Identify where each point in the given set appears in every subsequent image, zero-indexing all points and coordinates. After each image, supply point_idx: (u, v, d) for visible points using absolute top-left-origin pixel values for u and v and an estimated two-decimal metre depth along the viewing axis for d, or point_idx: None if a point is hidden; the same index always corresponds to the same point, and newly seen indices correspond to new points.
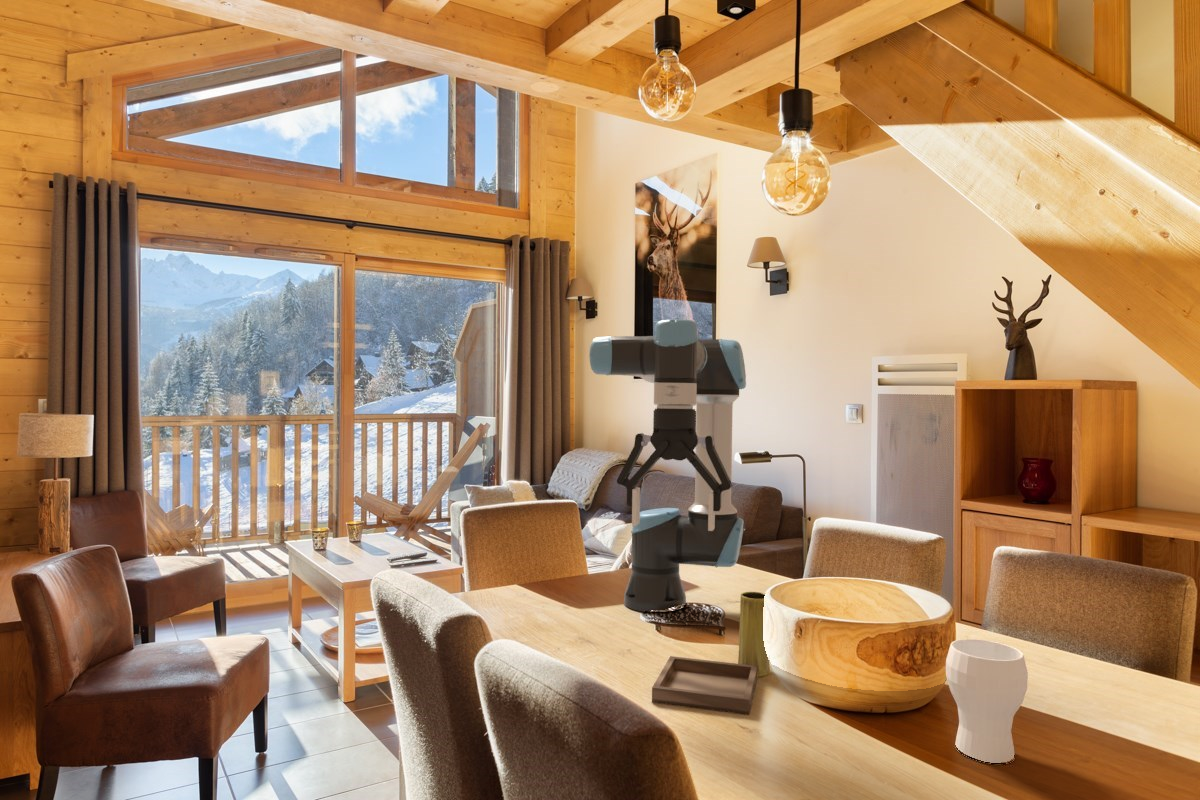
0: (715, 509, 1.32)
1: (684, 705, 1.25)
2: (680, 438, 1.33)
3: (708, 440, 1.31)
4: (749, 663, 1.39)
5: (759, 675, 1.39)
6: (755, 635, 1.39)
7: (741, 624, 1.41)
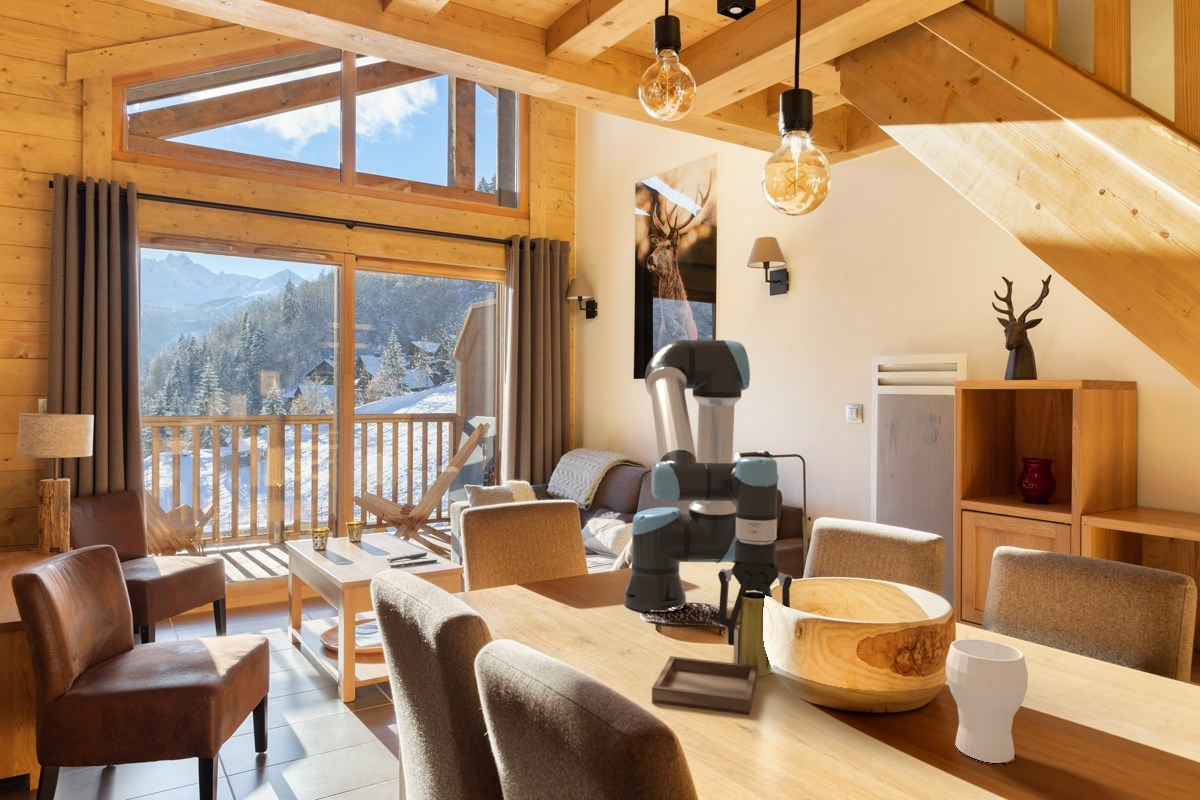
0: None
1: (684, 705, 1.25)
2: (763, 567, 1.40)
3: (788, 581, 1.39)
4: (749, 663, 1.39)
5: (759, 675, 1.39)
6: (755, 635, 1.39)
7: (741, 624, 1.41)
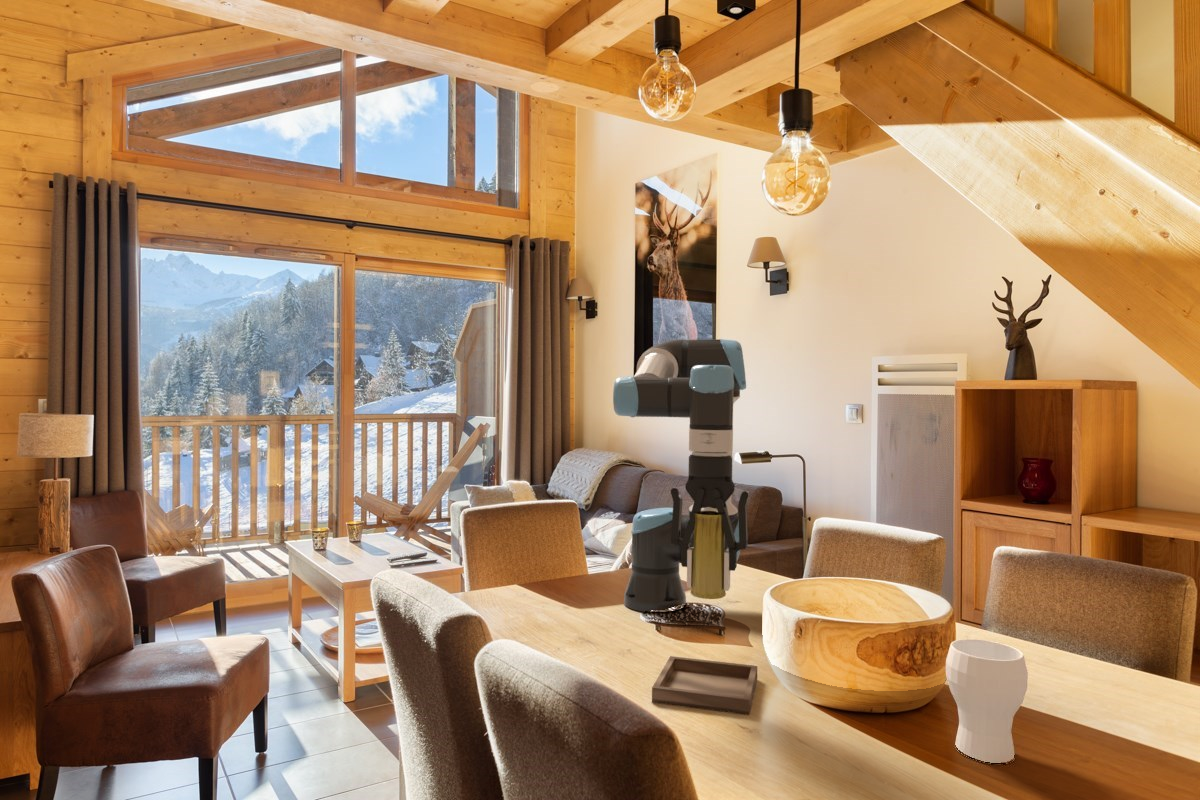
0: (731, 568, 1.30)
1: (684, 705, 1.25)
2: (718, 482, 1.30)
3: (744, 496, 1.29)
4: (702, 584, 1.29)
5: (713, 597, 1.29)
6: (709, 554, 1.29)
7: (694, 543, 1.31)
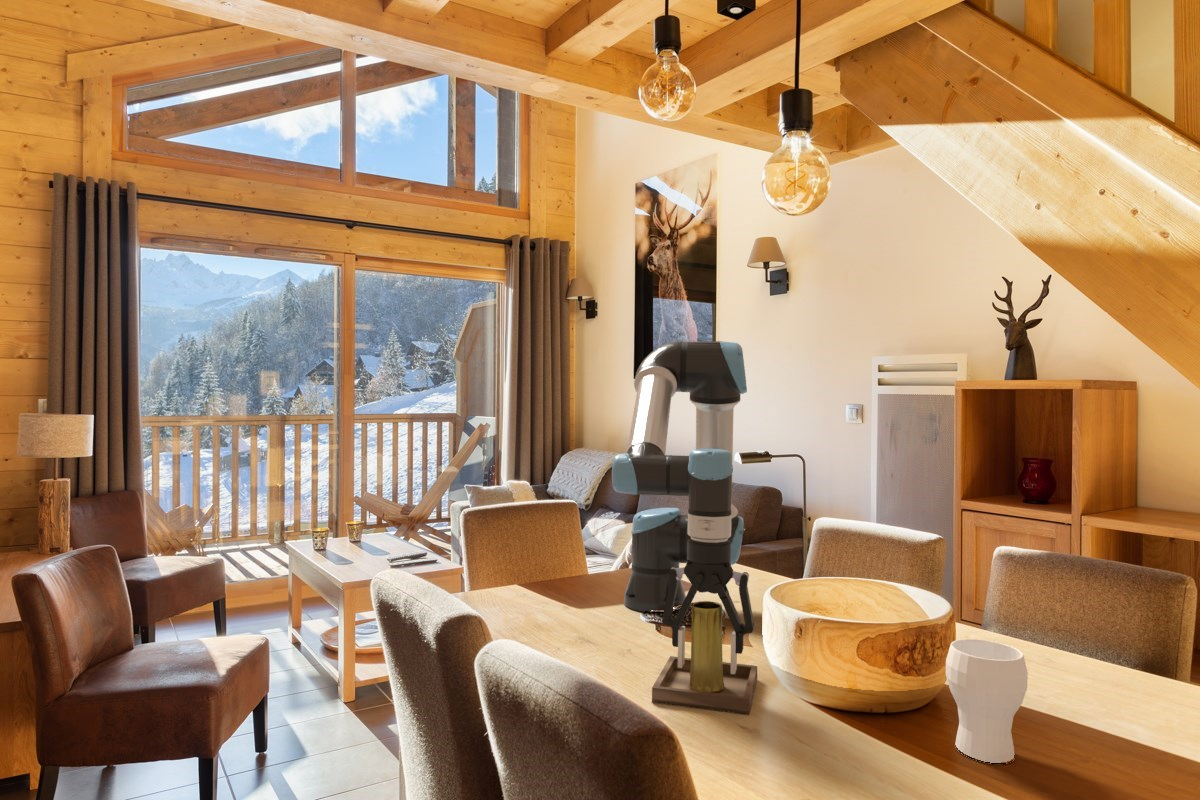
0: (737, 651, 1.30)
1: (684, 705, 1.25)
2: (716, 568, 1.30)
3: (743, 579, 1.29)
4: (701, 678, 1.30)
5: (712, 691, 1.29)
6: (707, 648, 1.29)
7: (692, 636, 1.31)
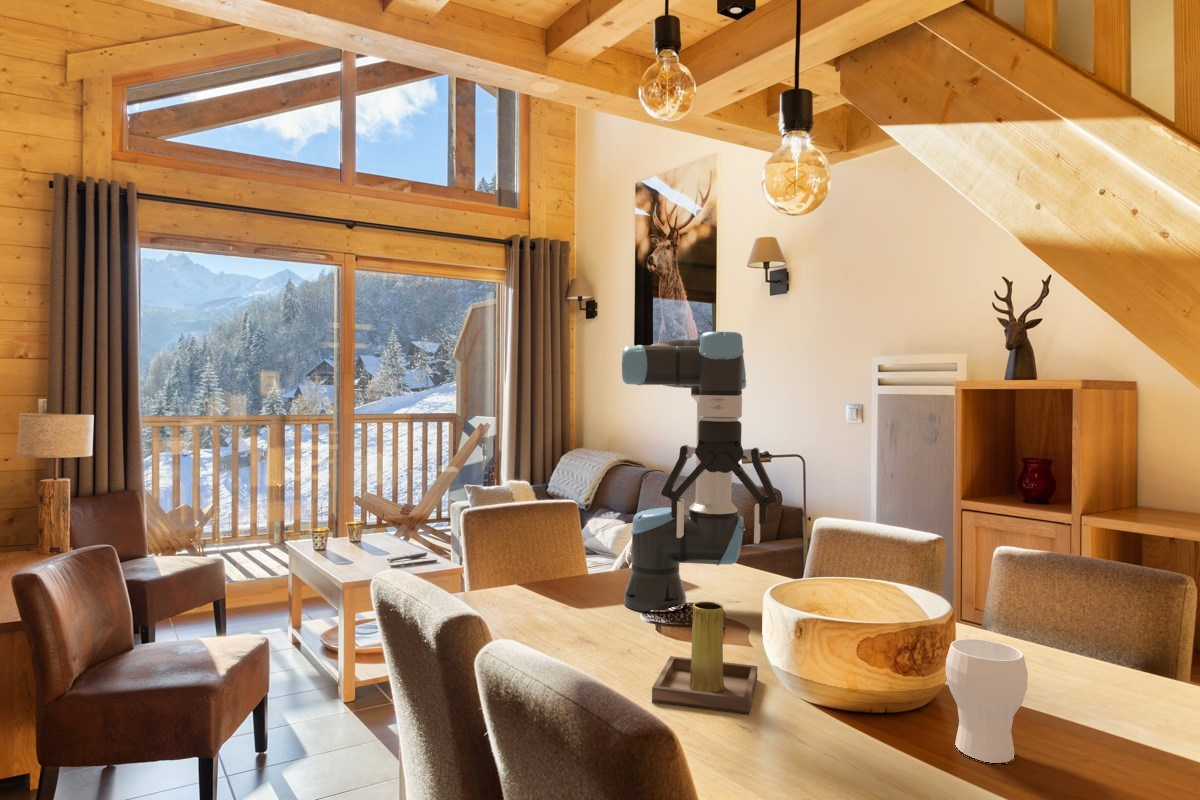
0: (761, 522, 1.32)
1: (684, 705, 1.25)
2: (726, 450, 1.33)
3: (754, 453, 1.31)
4: (701, 678, 1.30)
5: (712, 691, 1.29)
6: (708, 648, 1.29)
7: (693, 636, 1.31)
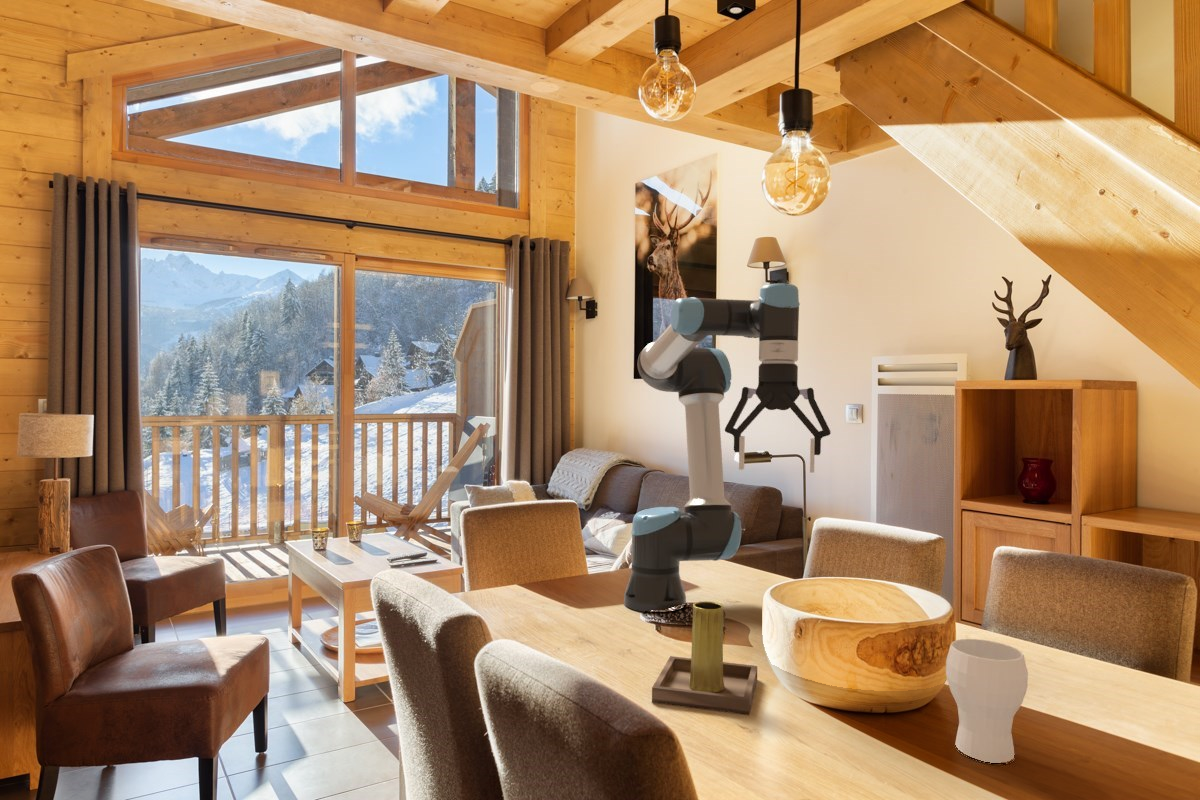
0: (816, 453, 1.47)
1: (684, 705, 1.25)
2: (784, 390, 1.48)
3: (810, 391, 1.47)
4: (701, 678, 1.30)
5: (712, 691, 1.29)
6: (708, 648, 1.29)
7: (693, 636, 1.31)
